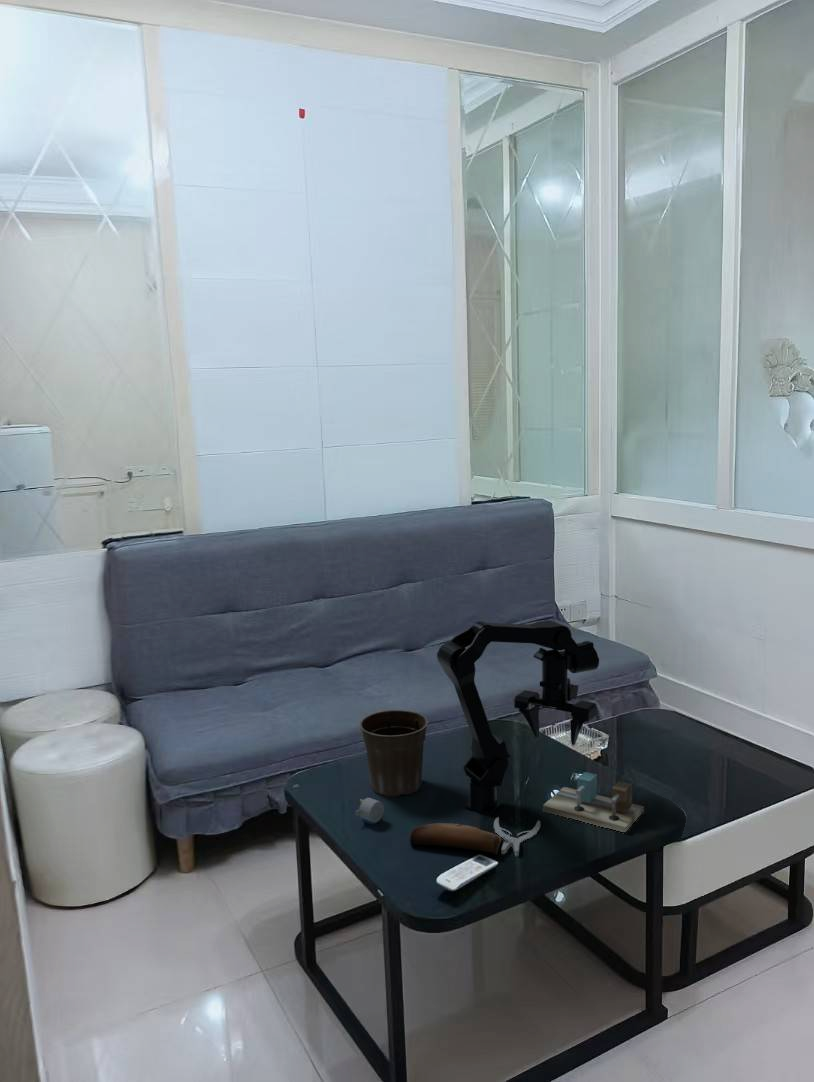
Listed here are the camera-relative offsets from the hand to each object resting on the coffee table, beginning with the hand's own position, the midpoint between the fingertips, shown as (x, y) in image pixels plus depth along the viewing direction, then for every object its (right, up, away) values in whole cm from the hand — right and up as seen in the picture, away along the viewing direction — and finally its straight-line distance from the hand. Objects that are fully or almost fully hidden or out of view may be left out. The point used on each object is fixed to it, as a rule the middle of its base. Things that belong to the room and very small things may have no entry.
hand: (555, 740), depth 199 cm
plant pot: (-37, -13, +6) cm, 40 cm away
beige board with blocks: (+7, -14, -10) cm, 18 cm away
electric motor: (-43, -15, -10) cm, 47 cm away
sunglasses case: (-24, -17, -21) cm, 36 cm away
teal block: (+5, -11, -9) cm, 15 cm away
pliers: (-12, -16, -20) cm, 28 cm away
